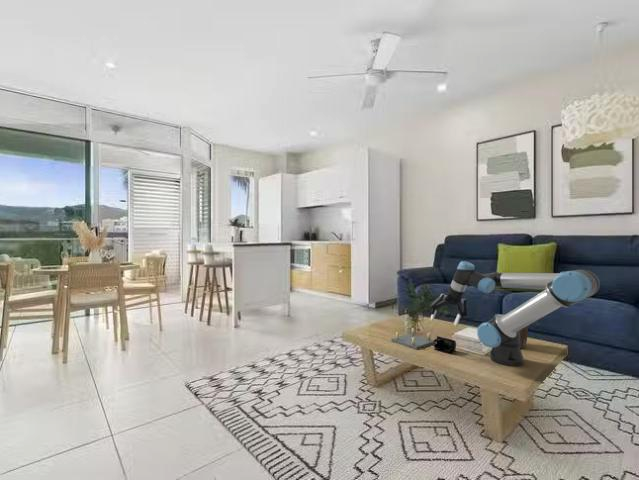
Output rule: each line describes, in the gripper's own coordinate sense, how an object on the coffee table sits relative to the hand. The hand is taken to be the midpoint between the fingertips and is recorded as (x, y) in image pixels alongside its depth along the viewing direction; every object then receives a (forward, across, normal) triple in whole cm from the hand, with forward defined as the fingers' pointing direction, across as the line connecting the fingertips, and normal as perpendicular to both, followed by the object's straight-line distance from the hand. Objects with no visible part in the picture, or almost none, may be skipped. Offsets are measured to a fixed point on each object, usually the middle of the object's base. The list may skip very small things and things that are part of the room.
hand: (443, 322), depth 185 cm
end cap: (+14, -4, +5) cm, 16 cm away
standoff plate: (+21, +9, -7) cm, 24 cm away
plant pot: (+7, -47, -6) cm, 48 cm away
